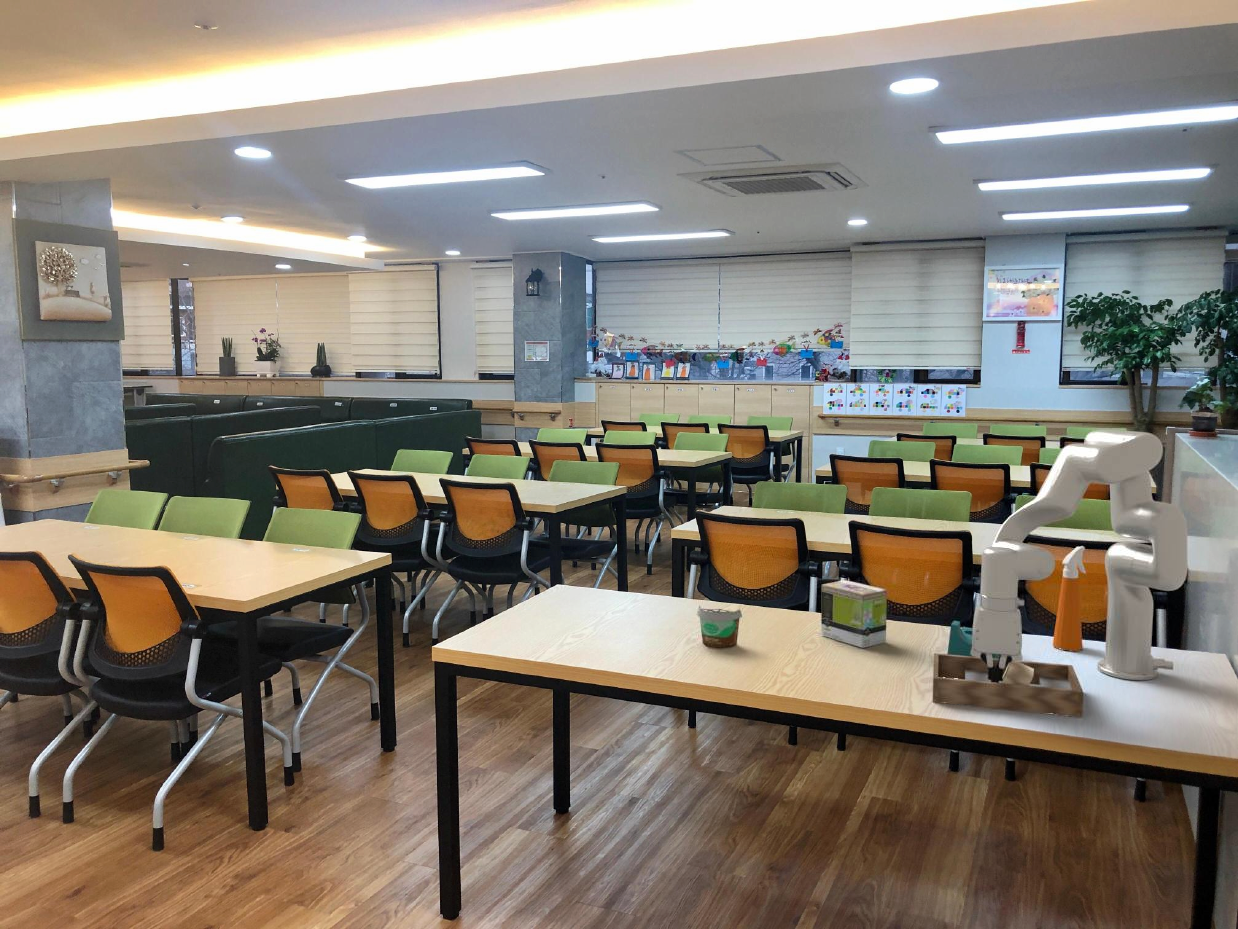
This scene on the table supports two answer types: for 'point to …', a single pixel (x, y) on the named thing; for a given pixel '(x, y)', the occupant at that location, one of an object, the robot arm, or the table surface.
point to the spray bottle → (1070, 604)
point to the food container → (719, 627)
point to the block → (1018, 674)
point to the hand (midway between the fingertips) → (994, 683)
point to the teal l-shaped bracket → (961, 641)
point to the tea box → (854, 613)
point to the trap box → (1007, 686)
